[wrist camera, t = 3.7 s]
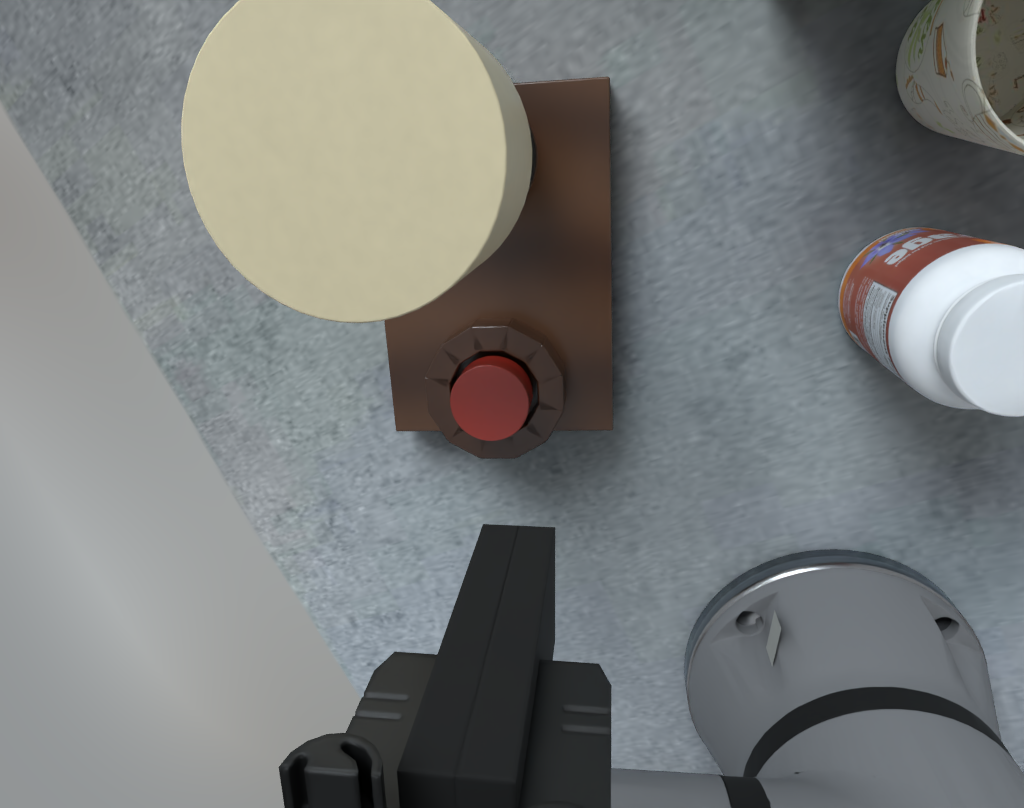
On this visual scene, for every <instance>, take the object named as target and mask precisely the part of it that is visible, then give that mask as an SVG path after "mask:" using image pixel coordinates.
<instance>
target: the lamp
mask: <svg viewBox="0 0 1024 808" xmlns="http://www.w3.org/2000/svg"><path fill="white" fill-rule="evenodd" d="M181 133H182V152H183V160H184V168H185V172H186V176H187V180H188V184H189V189H190V191H191V194H192V197H193V200H194V202H195V205H196V208H197V211H198V213H199V215H200V217H201V219H202V221H203V223H204V225H205V227H206V229H207V231H208V232H209V234H210V235H211V237H212V238H213V240H214V242H215V243H216V245H217V246H218V248H219V249H220V250H221V252H222V253H223V254H224V255H225V257H226V258H227V259H228V260H229V262H230V263H231V264H232V265H233V266H234V267H235V268H236V269H237V270H238V271H239V272H240V273H241V274H242V275H243V276H244V277H245V278H246V279H247V280H248V281H249V282H251V283H252V284H253V285H254V286H256V287H257V288H258V289H259V290H261V291H262V292H263V293H265V294H266V295H268V296H270V297H271V298H273V299H275V300H276V301H278V302H279V303H281V304H283V305H285V306H287V307H289V308H292V309H294V310H296V311H298V312H300V313H303V314H307V315H310V316H313V317H316V318H320V319H324V320H330V321H336V322H346V323H367V322H378V321H383V320H387V319H392V318H396V317H400V316H402V315H405V314H408V313H410V312H413V311H415V310H418V309H420V308H422V307H423V306H425V305H427V304H429V303H431V302H432V301H434V300H436V299H437V298H438V297H440V296H441V295H442V294H444V293H445V292H446V291H448V290H449V289H450V288H452V287H453V286H454V285H455V284H457V283H458V282H459V281H460V280H462V279H463V278H464V277H465V276H467V275H468V274H469V273H470V272H472V271H473V270H474V269H475V268H477V267H478V266H479V265H480V264H482V263H483V262H484V261H485V260H487V259H488V258H489V257H490V256H491V255H492V254H493V253H494V252H495V251H496V250H497V249H498V248H499V247H500V246H501V244H502V243H503V242H504V240H505V239H506V238H507V236H508V235H509V234H510V232H511V230H512V229H513V227H514V225H515V224H516V222H517V220H518V218H519V216H520V213H521V211H522V208H523V206H524V204H525V200H526V196H527V193H528V191H529V189H530V187H531V186H532V183H533V181H534V178H535V175H536V171H537V164H538V151H537V144H536V140H535V136H534V134H533V131H532V129H531V127H530V125H529V123H528V120H527V115H526V112H525V109H524V107H523V104H522V101H521V98H520V96H519V94H518V92H517V90H516V88H515V86H514V84H513V82H512V80H511V79H510V77H509V76H508V74H507V73H506V71H505V70H504V69H503V67H502V66H501V64H500V63H499V62H498V61H497V60H496V59H495V58H494V56H493V55H492V54H491V53H490V52H489V51H488V50H487V49H486V48H485V47H484V46H482V45H481V44H480V43H479V42H478V41H477V40H475V39H474V38H473V37H472V36H471V35H470V34H468V33H467V32H466V31H465V30H464V29H463V28H462V27H460V26H459V25H458V24H457V23H456V22H455V21H453V20H452V19H451V18H450V17H449V16H448V15H446V14H445V13H444V12H443V11H442V10H441V9H439V8H438V7H437V6H436V5H435V4H434V3H432V2H431V1H430V0H240V1H238V2H237V3H236V4H235V5H234V6H233V7H232V8H231V9H230V10H229V11H228V12H227V13H226V14H225V15H224V16H223V17H222V18H221V20H220V21H219V22H218V24H217V25H216V26H215V28H214V29H213V30H212V32H211V33H210V34H209V36H208V37H207V39H206V41H205V43H204V45H203V47H202V48H201V50H200V52H199V54H198V56H197V58H196V61H195V64H194V66H193V69H192V71H191V74H190V77H189V81H188V85H187V89H186V93H185V97H184V104H183V112H182V121H181Z"/></svg>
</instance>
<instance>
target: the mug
mask: <svg viewBox="0 0 1024 808" xmlns="http://www.w3.org/2000/svg"><path fill="white" fill-rule="evenodd" d="M896 82H897V88H898V92H899V95H900V97H901V100H902V102H903V104H904V106H905V108H906V109H907V110H908V112H909V113H910V114H911V115H912V116H913V118H914V119H916V120H917V121H918V122H919V123H920V124H922V125H923V126H925V127H927V128H928V129H930V130H933V131H935V132H938V133H941V134H944V135H947V136H951V137H955V138H959V139H963V140H966V141H970V142H974V143H978V144H981V145H985V146H989V147H993V148H996V149H1000V150H1004V151H1008V152H1012V153H1015V154H1019V155H1023V156H1024V0H931V1H930V2H929V3H928V4H927V5H926V6H925V7H924V8H923V9H922V10H921V11H920V13H919V14H918V15H917V16H916V18H915V19H914V20H913V22H912V23H911V25H910V26H909V28H908V30H907V32H906V34H905V36H904V38H903V40H902V43H901V46H900V49H899V53H898V56H897V63H896Z"/></svg>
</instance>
